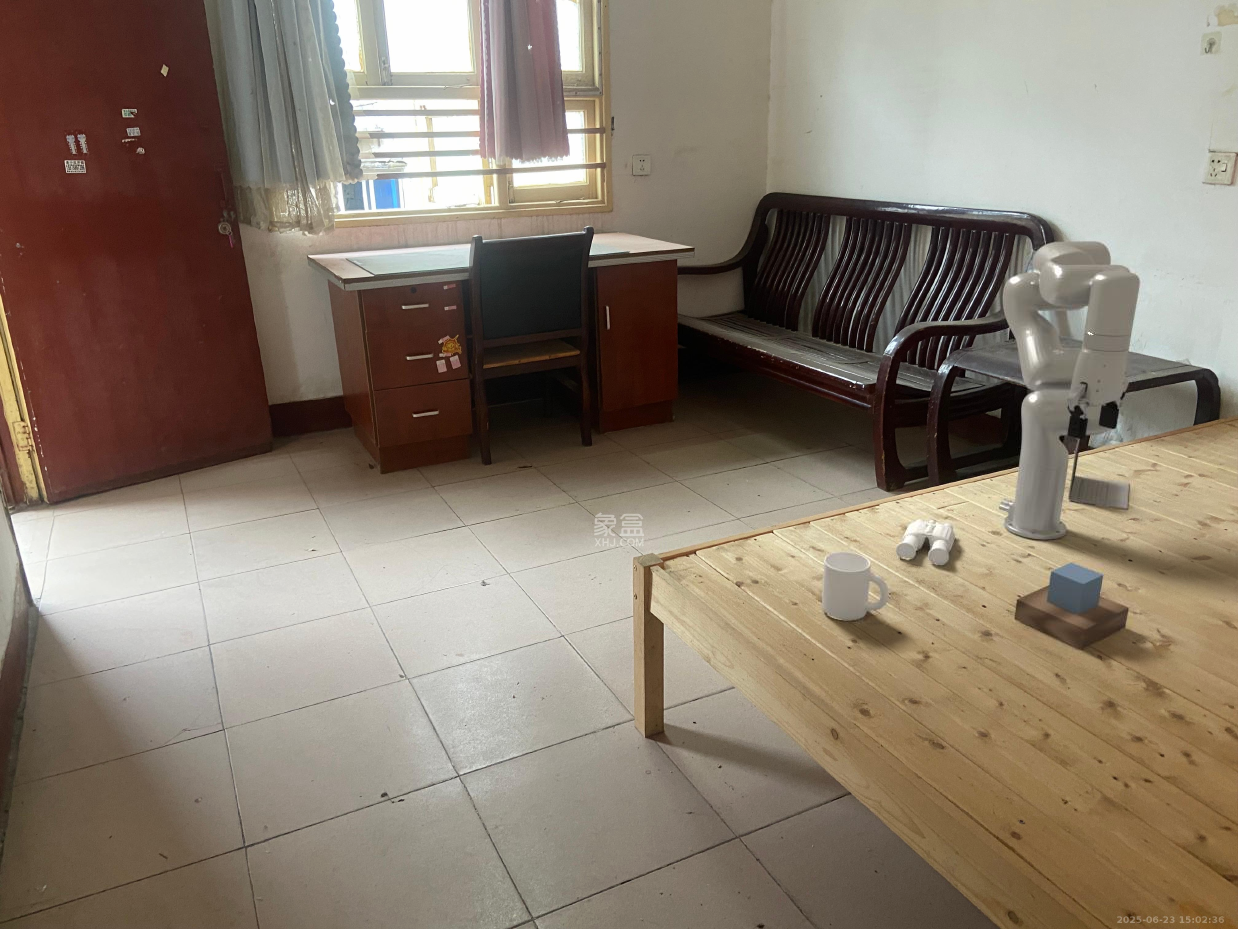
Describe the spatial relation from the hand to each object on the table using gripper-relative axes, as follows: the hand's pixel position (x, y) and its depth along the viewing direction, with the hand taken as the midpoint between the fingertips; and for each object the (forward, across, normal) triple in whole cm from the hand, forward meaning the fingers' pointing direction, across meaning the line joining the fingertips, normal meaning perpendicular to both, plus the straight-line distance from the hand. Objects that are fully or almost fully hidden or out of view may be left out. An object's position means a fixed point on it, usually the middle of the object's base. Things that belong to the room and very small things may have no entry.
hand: (1091, 432), depth 169 cm
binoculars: (+31, +12, -25) cm, 41 cm away
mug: (+30, +45, -14) cm, 56 cm away
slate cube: (+26, +16, +11) cm, 33 cm away
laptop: (+31, -46, -22) cm, 60 cm away
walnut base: (+30, +17, +11) cm, 36 cm away
